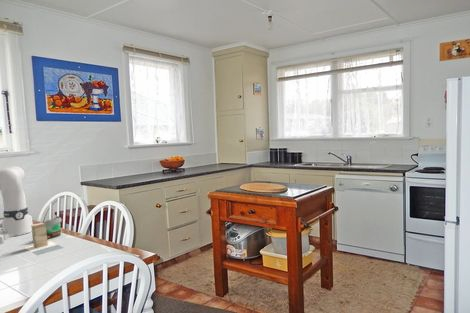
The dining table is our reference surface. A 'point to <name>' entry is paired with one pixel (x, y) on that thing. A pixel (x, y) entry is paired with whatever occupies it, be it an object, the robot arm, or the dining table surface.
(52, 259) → the dining table surface
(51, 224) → the food container
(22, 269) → the dining table surface
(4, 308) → the dining table surface
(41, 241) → the birch block
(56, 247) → the board
